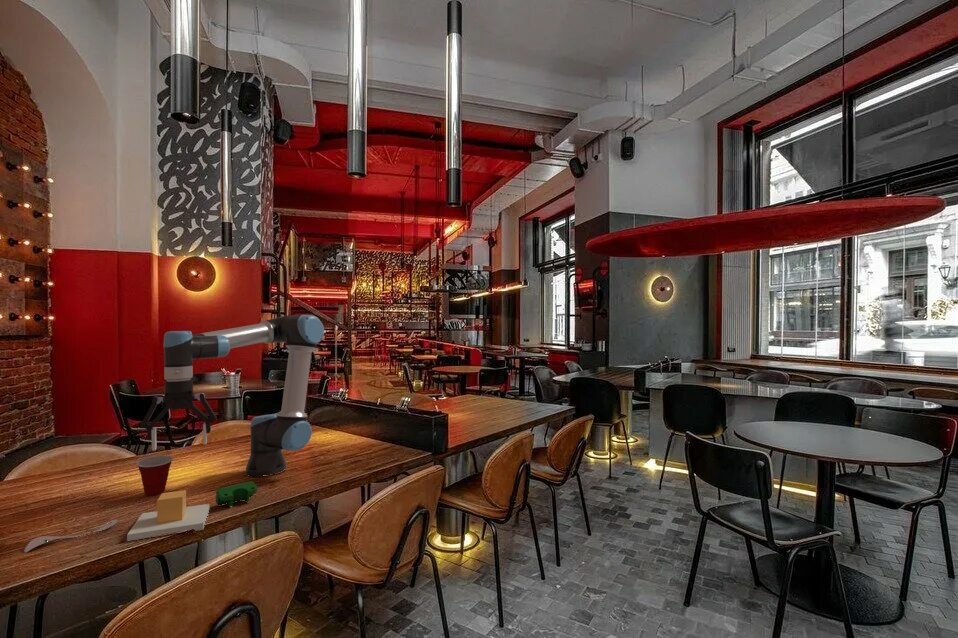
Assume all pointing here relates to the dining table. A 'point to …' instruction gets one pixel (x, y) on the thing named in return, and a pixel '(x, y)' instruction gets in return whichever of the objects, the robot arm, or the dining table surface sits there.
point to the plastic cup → (154, 473)
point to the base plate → (169, 523)
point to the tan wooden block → (171, 506)
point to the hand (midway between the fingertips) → (180, 446)
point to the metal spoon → (45, 539)
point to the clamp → (235, 493)
